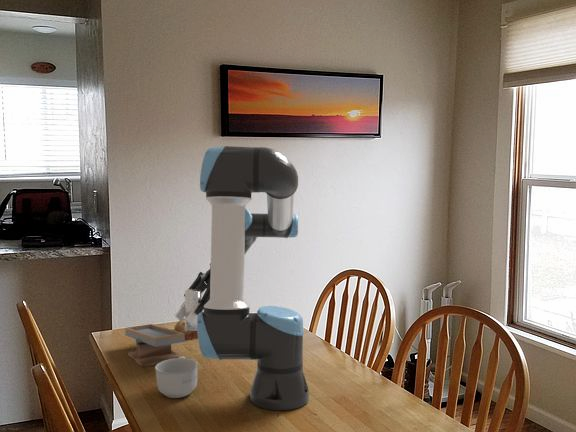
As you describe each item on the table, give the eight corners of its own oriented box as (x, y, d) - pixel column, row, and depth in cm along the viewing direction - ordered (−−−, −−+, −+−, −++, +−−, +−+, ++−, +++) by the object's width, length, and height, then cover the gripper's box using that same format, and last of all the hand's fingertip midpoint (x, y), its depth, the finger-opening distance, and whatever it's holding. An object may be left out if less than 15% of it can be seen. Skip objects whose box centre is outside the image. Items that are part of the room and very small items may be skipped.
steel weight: (203, 329, 188) (203, 291, 187) (189, 331, 186) (189, 293, 185) (197, 325, 193) (197, 288, 191) (182, 327, 190) (182, 290, 189)
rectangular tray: (188, 343, 176) (187, 332, 176) (152, 349, 170) (151, 338, 170) (155, 332, 198) (154, 323, 198) (122, 337, 192) (121, 328, 192)
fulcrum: (180, 359, 183) (180, 343, 182) (141, 367, 176) (141, 350, 176) (164, 348, 193) (164, 333, 192) (128, 355, 186) (127, 339, 186)
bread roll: (177, 342, 211) (167, 322, 209) (203, 328, 213) (193, 308, 212) (180, 351, 202) (170, 331, 200) (208, 336, 204) (198, 316, 202)
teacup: (188, 404, 151) (188, 373, 151) (148, 399, 154) (148, 369, 153) (207, 383, 165) (207, 355, 164) (169, 379, 167) (169, 351, 166)
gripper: (249, 273, 192) (207, 333, 182) (215, 265, 205) (174, 321, 195) (236, 258, 188) (192, 319, 178) (202, 251, 200) (159, 307, 191)
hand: (183, 320), depth 186 cm, fingers closed on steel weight, 5 cm apart
